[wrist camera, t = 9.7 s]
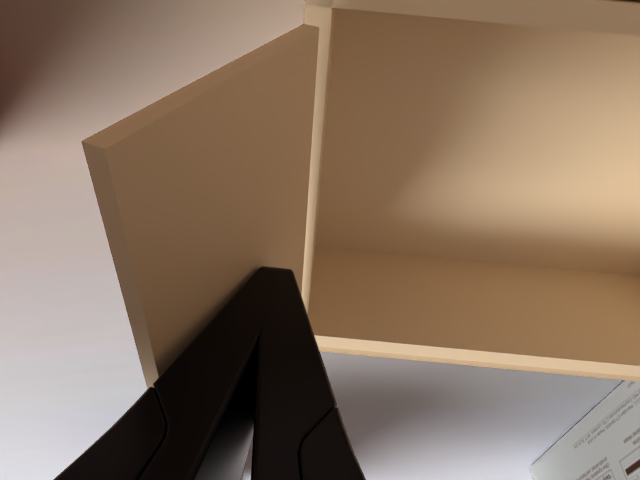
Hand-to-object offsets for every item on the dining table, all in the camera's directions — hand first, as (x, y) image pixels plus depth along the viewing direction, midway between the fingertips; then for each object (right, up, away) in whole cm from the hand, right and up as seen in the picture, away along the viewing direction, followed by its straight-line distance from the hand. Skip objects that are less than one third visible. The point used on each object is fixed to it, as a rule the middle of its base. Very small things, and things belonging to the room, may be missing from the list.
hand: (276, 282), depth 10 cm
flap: (-1, 0, 0) cm, 1 cm away
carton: (+7, +4, +5) cm, 10 cm away
